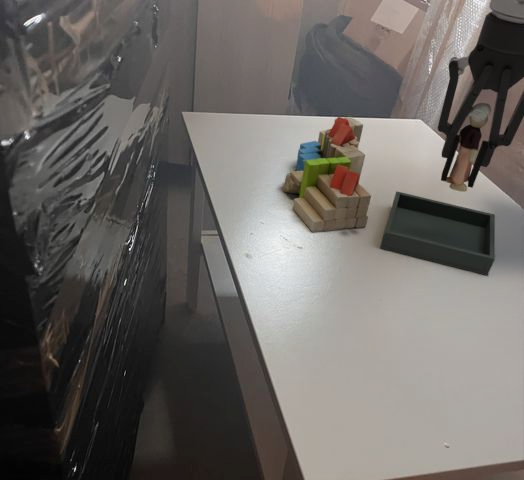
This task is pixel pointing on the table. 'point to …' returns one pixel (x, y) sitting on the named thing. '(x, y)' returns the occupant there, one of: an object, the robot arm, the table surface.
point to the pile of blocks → (331, 179)
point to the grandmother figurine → (468, 146)
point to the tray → (441, 233)
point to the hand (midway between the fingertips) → (457, 180)
